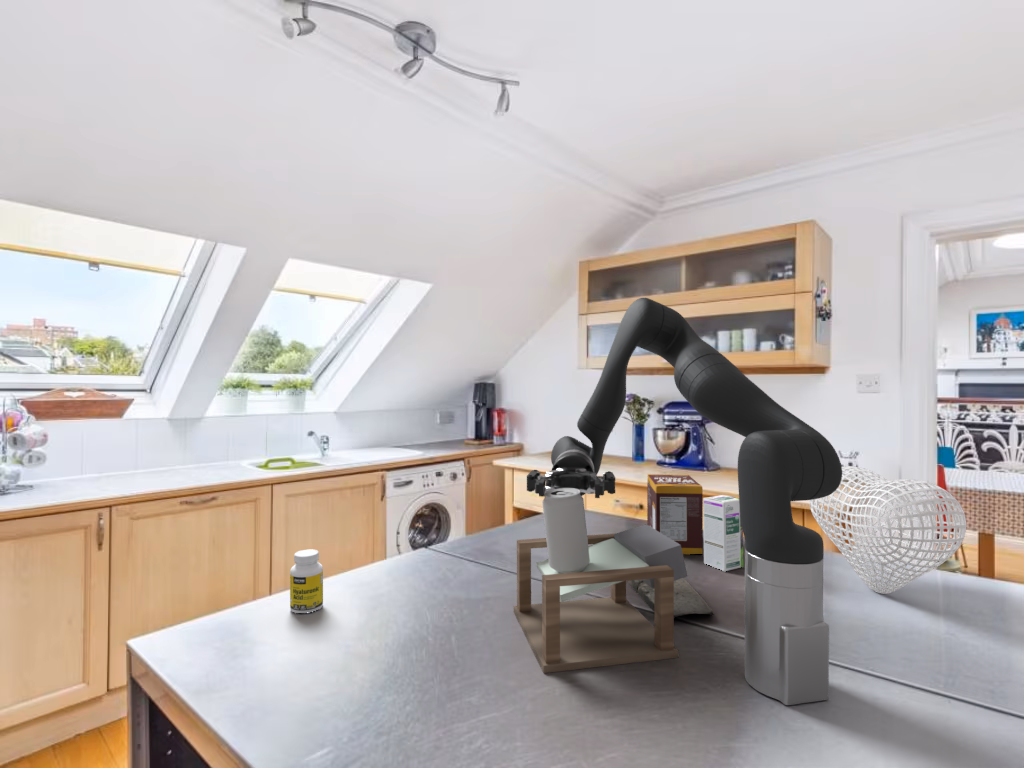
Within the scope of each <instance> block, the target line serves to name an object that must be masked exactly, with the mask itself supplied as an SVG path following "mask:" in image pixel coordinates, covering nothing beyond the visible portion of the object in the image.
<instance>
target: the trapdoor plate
mask: <svg viewBox="0 0 1024 768" xmlns="http://www.w3.org/2000/svg"><path fill="white" fill-rule="evenodd" d="M615 533H616V532H615ZM615 533H613V534H614V537H615V539H614V538H612V539H609V540H606V541H602V542H599V543H596V544H590V545H588V548H589V558H590V563H589V564H588V565H587V566H586V568H585V569H584V570H582V571H580V572H588V571H600V570H613V569H626V568H639V567H651V566H664V565H667V566H669V567H670V568H672V569H673V570H674V581H676V580H679V579H681V578H684V579H685V578H687V577H688V576H689V575H688V571H687V566H686V562H685V557H684V554H683V553H682V549H681V545H680V544H678V543H677V542H675V541H673V540H672V539H670V538H668V537H667V536H665V535H663V534H662V533H660V532H658V531H657V530H655V529H653V528H652V527H650V526H648V525H647V524H646V523H645V524H641V525H639V526H635V527H633V528H629V529H626V530H622V531H620V532H617V533H616V534H615ZM535 564H536V567H537V569H538V572H540V574H541V576H542V575H550V574H562V573H560V572H557V571H555V570H554V569H553V568H551V567H550V565H549V559H548V558H547V559H543V560H541V561H538V562H536V563H535ZM642 581H643V582H645V583H646V584H647V585H648V586H649V587H651V588H654V582H655V578H654V579H642ZM619 582H622V581H618V582H606V583H594V584H582V585H570V586H560V602H564V601H570V600H571V599H575V598H577V597H581V596H584V595H585V594H589V593H592V592H595V591H598V590H600V589H604V588H608V587H611V585H613V584H616V583H619Z"/></svg>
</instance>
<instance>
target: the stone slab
mask: <svg viewBox="0 0 1024 768" xmlns="http://www.w3.org/2000/svg"><path fill="white" fill-rule="evenodd" d="M626 583H628V585H629V586H630V587H631V588H632V590H634V592H635V591H636V592H635V593H636V594H637V595H638V596H639V597H640V598H641V599H642V600H643V601H644V603H645V604H646V605H647V606H648V607H649V609H650V610H652V612H654V588H651V587H649V586H648V585H647V584H646V583H645V582H643V581H642V580H630V581H626ZM691 614H696V615H711V616H714V611H713V610H712V608H711V606H709V604H708V603H707V602H706V601H705V599H704V598H703V597H702V596H701V594H699V592H698V591H697V590H696V589H695V588H694V587H693V586H692V585H691V584H690V583H689V582H688V580H686V579H685V577H684V578H681V579H679V580H676V581H674V619H675V618H676V617H681V616H686V615H691Z"/></svg>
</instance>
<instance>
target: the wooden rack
mask: <svg viewBox="0 0 1024 768" xmlns="http://www.w3.org/2000/svg"><path fill="white" fill-rule="evenodd" d="M614 534H616V532H615V533H603V534H601V533H600V534H587V538H588V546H590V545H593V544H596V543H599V542H602V541H606V540H609V539H612V538H614V539H615V537H614ZM543 548H544V549H546V548H547V540H546V537H540V538H524V539H517V540H516V605H513V613H514V614H513V615H515V617H516V619H517V622H518V624H519V626H520V628H521V630H522V632H523V634H524V636H525V638H526V640H527V642H528V644H529V646H530V648H531V650H532V653H533V655H534V656H535V659H536V661H537V663H538V665H539V667H540V669H541V671H542V672H543V674H548V673H555V672H564V671H565V672H566V671H573V670H582V669H593V668H597V667H598V668H600V667H608V666H617V665H624V664H626V665H627V664H635V663H642V662H644V663H645V662H651V661H653V662H654V661H659V660H660V661H661V660H667V659H668V660H670V659H676V658H679V653H680V652H679V649H678V648H677V647H675V644H674V643H675V640H674V638H675V636H674V634H675V633H674V630H675V629H674V628H675V627H674V626H675V625H674V624H675V622H674V619H675V618H674V570H673V569H672V568H670V567H669V566H667V565H664V566H651V567H639V568H626V569H613V570H600V571H588V572H575V573H562V574H550V575H542V574H541V595H542V597H541V603H533V604H532V549H543ZM654 578H655V582H654V611H653V613H654V625H653V624H652V623H651V622H650V621H649V619H647V618H646V617H645V616H644V615H643V614H642V613H641V612H640V611H639V610H638V609H637V608H636V607H635V606H634V605H633V604H632V603H631V602H629V600H628V599H627V581H630V580H642V579H654ZM618 581H622V582H619V583H616V584H613V585H610V596H609V597H600V598H598V597H597V598H588V599H576V600H566V601H563V602H561V600H560V586H570V585H582V584H594V583H606V582H618Z"/></svg>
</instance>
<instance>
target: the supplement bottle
mask: <svg viewBox="0 0 1024 768" xmlns="http://www.w3.org/2000/svg"><path fill="white" fill-rule="evenodd" d="M293 557H294V558H293V559H294V560H293V561H294V565H292V567H291V568H290V570H289V571H290V572H289V573H290V574H289V583H290V584H289V598H290V599H289V602H290V603H289V606H290V607H289V608H290V611H291V613H293V612H295V613H294V614H296V613H307V612H312V611H315V612H317V611H316V610H318V609H319V610H321V609H322V608H323V606H324V566H323V564H321V563H320V562H319V560H320V559H319V557H320V553H319V551H318V550H317V549H313V548H311V549H301V550H297V551H296V552H295V553H294V555H293ZM319 610H318V611H319ZM312 613H313V612H312ZM307 614H308V613H307Z"/></svg>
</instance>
